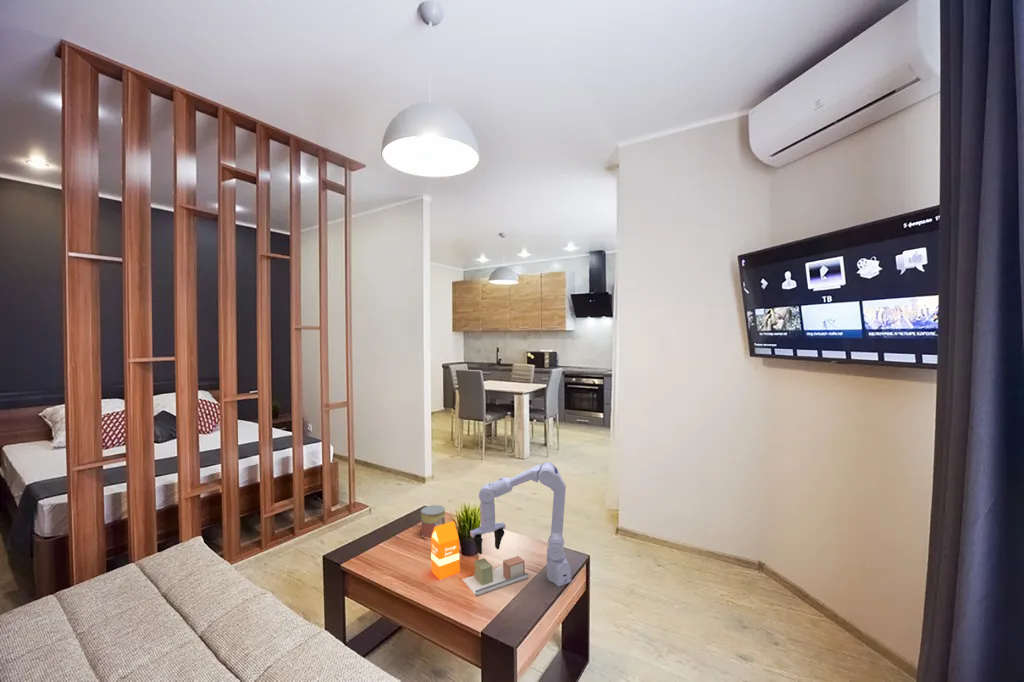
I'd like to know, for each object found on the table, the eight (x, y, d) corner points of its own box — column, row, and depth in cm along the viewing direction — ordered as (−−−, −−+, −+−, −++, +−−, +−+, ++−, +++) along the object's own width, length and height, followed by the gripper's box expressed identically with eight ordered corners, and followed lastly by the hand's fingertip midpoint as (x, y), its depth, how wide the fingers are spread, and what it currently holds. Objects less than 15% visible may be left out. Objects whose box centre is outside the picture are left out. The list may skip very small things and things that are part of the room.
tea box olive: (485, 573, 169) (484, 558, 169) (493, 581, 163) (492, 565, 163) (474, 576, 166) (474, 561, 166) (482, 585, 160) (481, 569, 160)
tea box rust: (524, 576, 166) (524, 560, 166) (509, 581, 162) (508, 566, 162) (518, 571, 170) (518, 555, 170) (503, 576, 166) (503, 560, 166)
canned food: (433, 541, 199) (433, 516, 199) (416, 536, 205) (416, 511, 205) (450, 532, 208) (449, 507, 208) (433, 527, 214) (432, 503, 214)
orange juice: (431, 573, 171) (430, 523, 171) (451, 566, 176) (449, 518, 176) (439, 582, 165) (438, 530, 165) (460, 574, 170) (458, 524, 170)
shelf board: (528, 580, 164) (528, 574, 164) (476, 598, 153) (476, 591, 153) (511, 565, 176) (511, 559, 176) (462, 581, 165) (462, 575, 165)
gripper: (499, 509, 175) (500, 542, 175) (466, 516, 168) (467, 551, 168) (507, 514, 169) (508, 549, 169) (474, 523, 162) (475, 559, 162)
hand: (488, 550), depth 168 cm, fingers open, 7 cm apart
